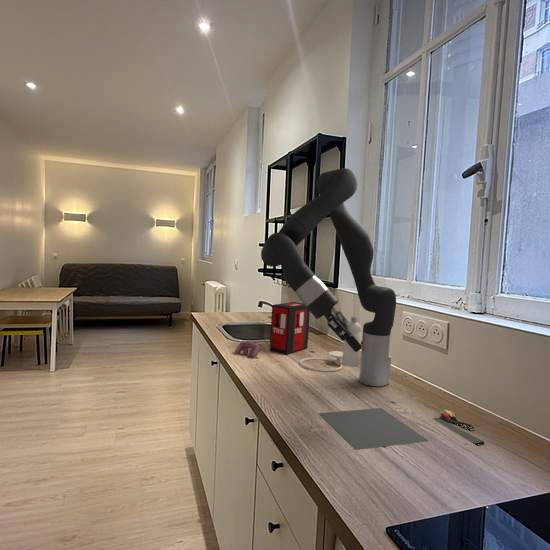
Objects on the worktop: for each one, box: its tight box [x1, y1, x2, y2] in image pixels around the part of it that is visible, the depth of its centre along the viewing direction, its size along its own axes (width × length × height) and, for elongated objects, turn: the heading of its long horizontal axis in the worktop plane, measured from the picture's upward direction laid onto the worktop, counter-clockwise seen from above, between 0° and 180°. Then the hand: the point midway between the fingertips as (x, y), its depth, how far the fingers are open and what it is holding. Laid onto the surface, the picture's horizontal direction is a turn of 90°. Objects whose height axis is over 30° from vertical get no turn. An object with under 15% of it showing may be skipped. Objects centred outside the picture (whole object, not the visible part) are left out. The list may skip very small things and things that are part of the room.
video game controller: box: [234, 340, 262, 359], centre depth 165 cm, size 10×5×7 cm, turn 59°
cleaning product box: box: [269, 301, 311, 356], centre depth 177 cm, size 16×9×20 cm, turn 144°
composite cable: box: [438, 408, 475, 430], centre depth 110 cm, size 10×5×2 cm, turn 23°
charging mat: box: [317, 407, 430, 451], centre depth 103 cm, size 20×20×1 cm
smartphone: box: [432, 417, 485, 446], centre depth 104 cm, size 7×1×15 cm
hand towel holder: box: [298, 350, 344, 373], centre depth 158 cm, size 17×4×21 cm
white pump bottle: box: [341, 316, 363, 368], centre depth 105 cm, size 4×4×12 cm
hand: (359, 347), depth 105 cm, fingers closed on white pump bottle, 4 cm apart
